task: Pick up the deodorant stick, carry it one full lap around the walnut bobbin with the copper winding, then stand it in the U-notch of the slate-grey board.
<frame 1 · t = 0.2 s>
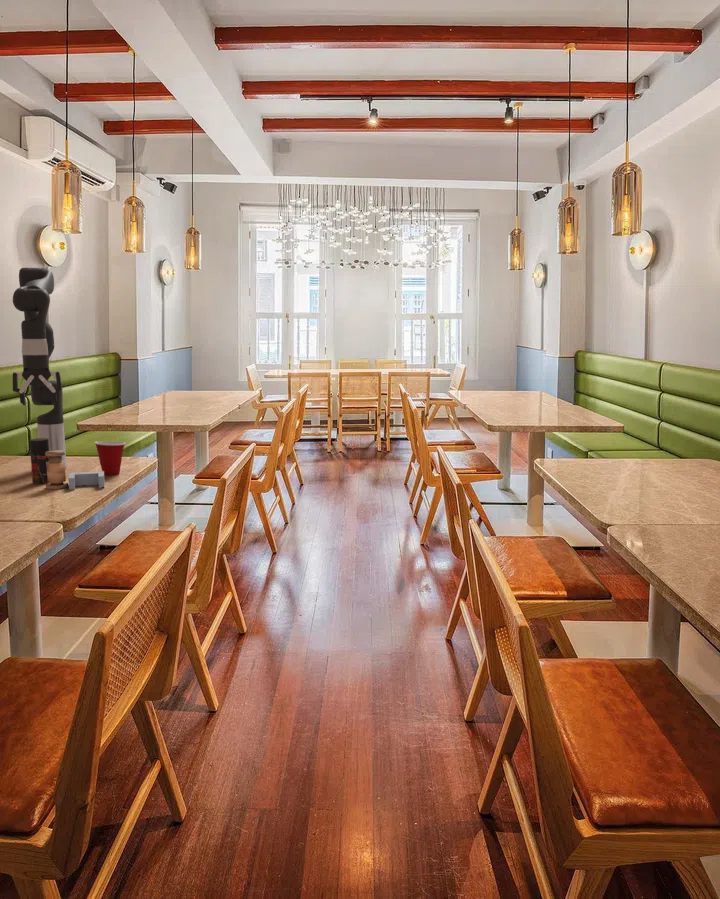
hand: (38, 404, 238), 28 cm above the table, tool pointing down, fingers open, 8 cm apart
notch board: (87, 486, 252), on the table
plastic cup: (111, 474, 273), on the table
bobbin: (57, 487, 250), on the table
deodorant: (41, 483, 258), on the table
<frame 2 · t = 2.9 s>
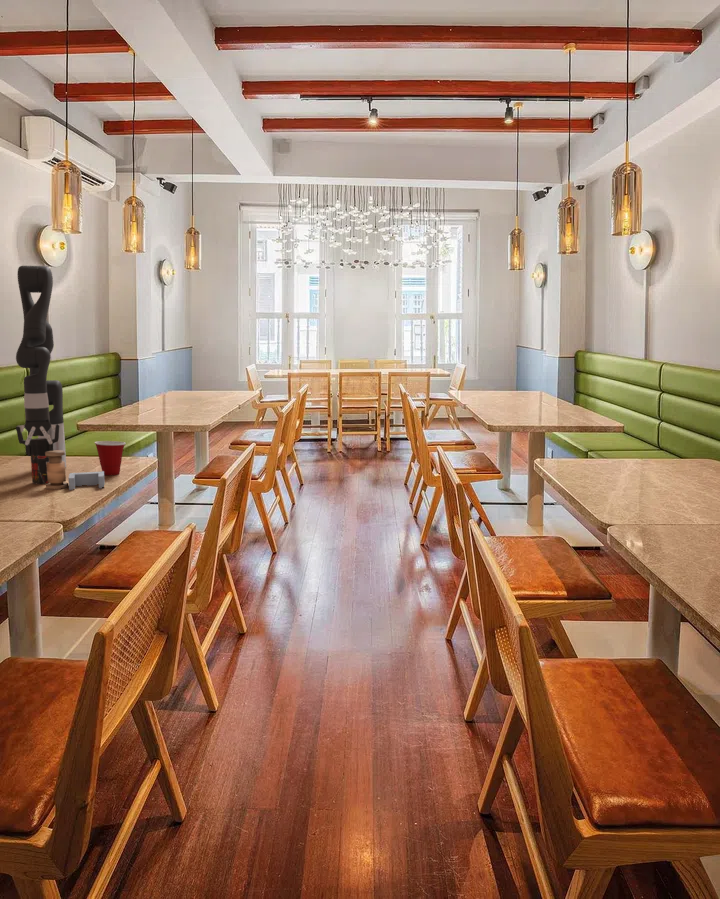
hand: (39, 455, 256), 10 cm above the table, tool pointing down, fingers closed on deodorant, 6 cm apart
deodorant: (41, 483, 258), on the table, touching gripper
everything else where it was.
when the fingers open (11 cm above the table, at t = 14.0 s): deodorant drops 1 cm, on the table.
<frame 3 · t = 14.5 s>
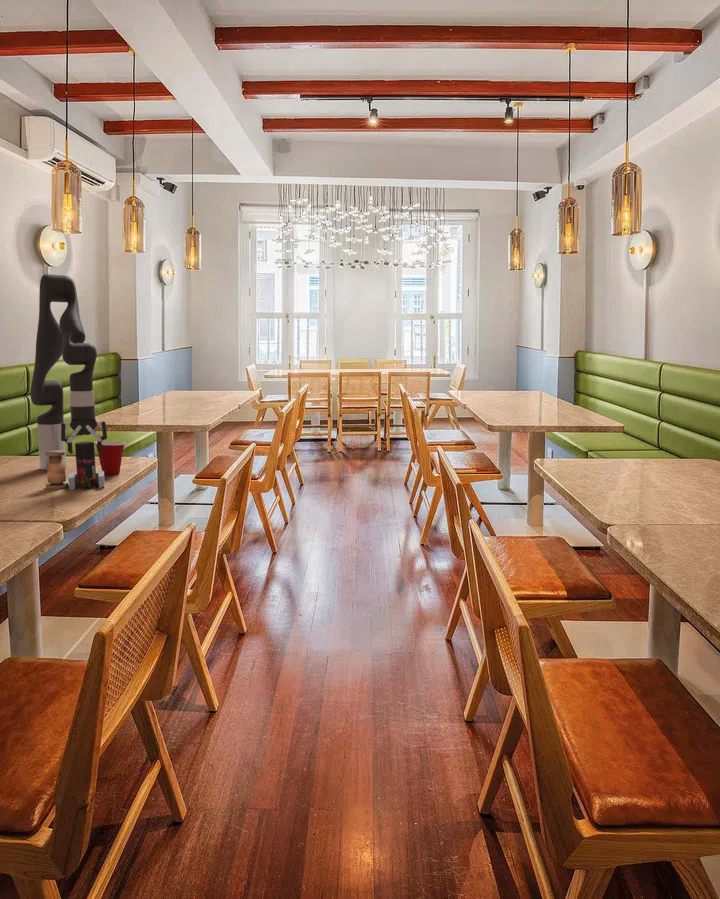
hand: (85, 453, 248), 12 cm above the table, tool pointing down, fingers open, 8 cm apart
deodorant: (87, 487, 250), on the table
everything else where it was.
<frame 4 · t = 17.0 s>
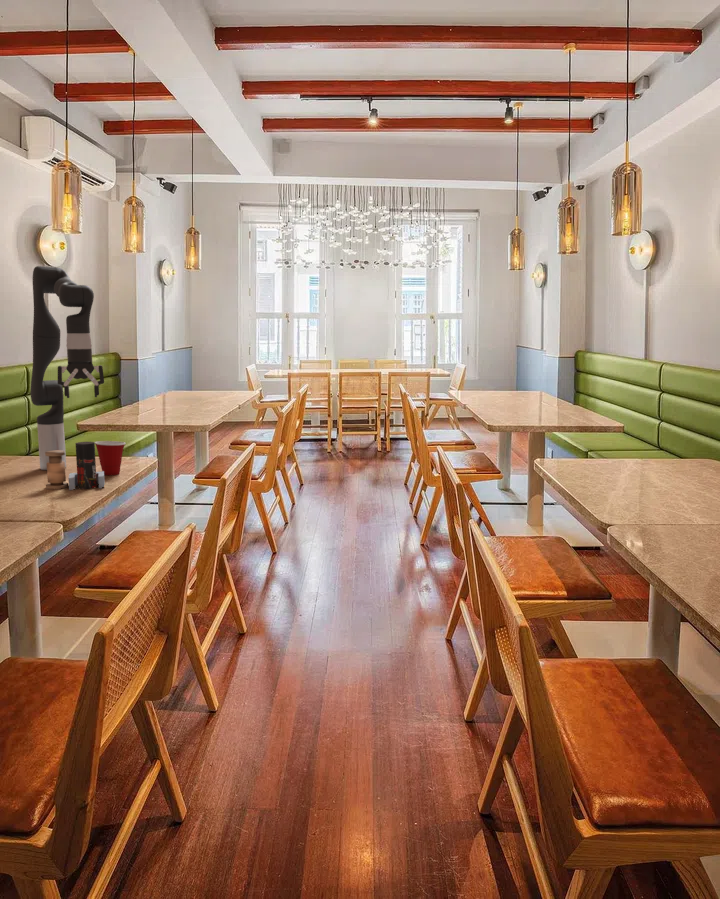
hand: (82, 397, 246), 30 cm above the table, tool pointing down, fingers open, 8 cm apart
nothing on the table moved.
at the end: deodorant 0.1 cm from the target spot, on the table; deodorant tilted 0°; the gripper is holding nothing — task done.
